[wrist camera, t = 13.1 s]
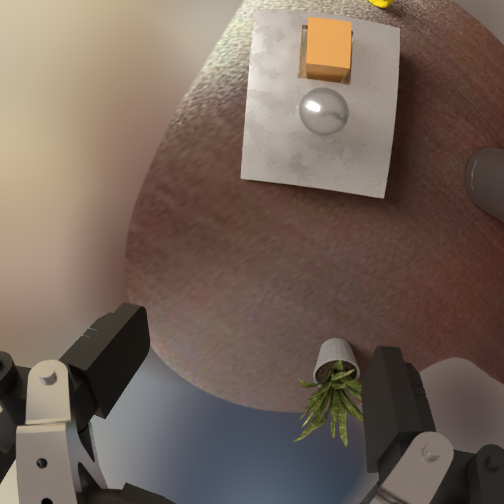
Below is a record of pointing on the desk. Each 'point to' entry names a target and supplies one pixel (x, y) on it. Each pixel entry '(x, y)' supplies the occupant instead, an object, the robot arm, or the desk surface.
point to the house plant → (334, 387)
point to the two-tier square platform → (320, 107)
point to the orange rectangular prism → (328, 49)
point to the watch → (381, 3)
